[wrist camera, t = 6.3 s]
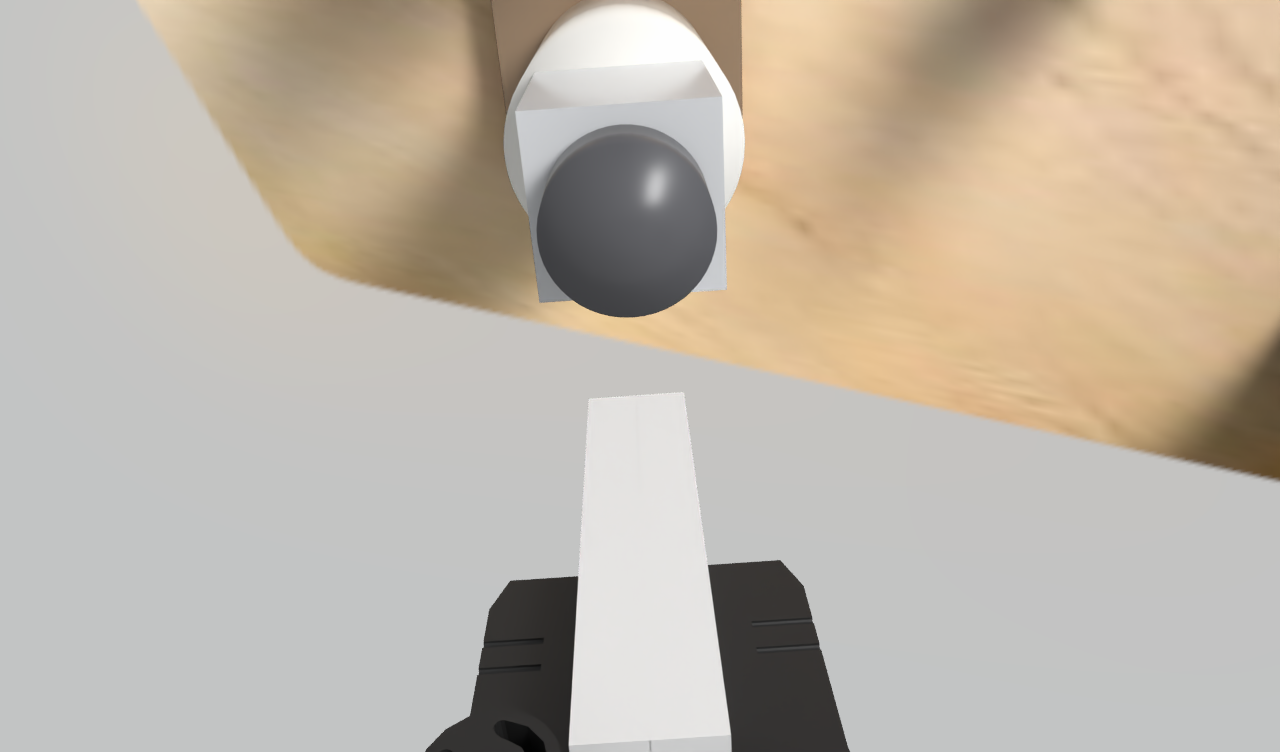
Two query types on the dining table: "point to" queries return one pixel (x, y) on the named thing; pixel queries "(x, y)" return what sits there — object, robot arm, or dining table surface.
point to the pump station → (621, 92)
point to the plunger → (626, 221)
